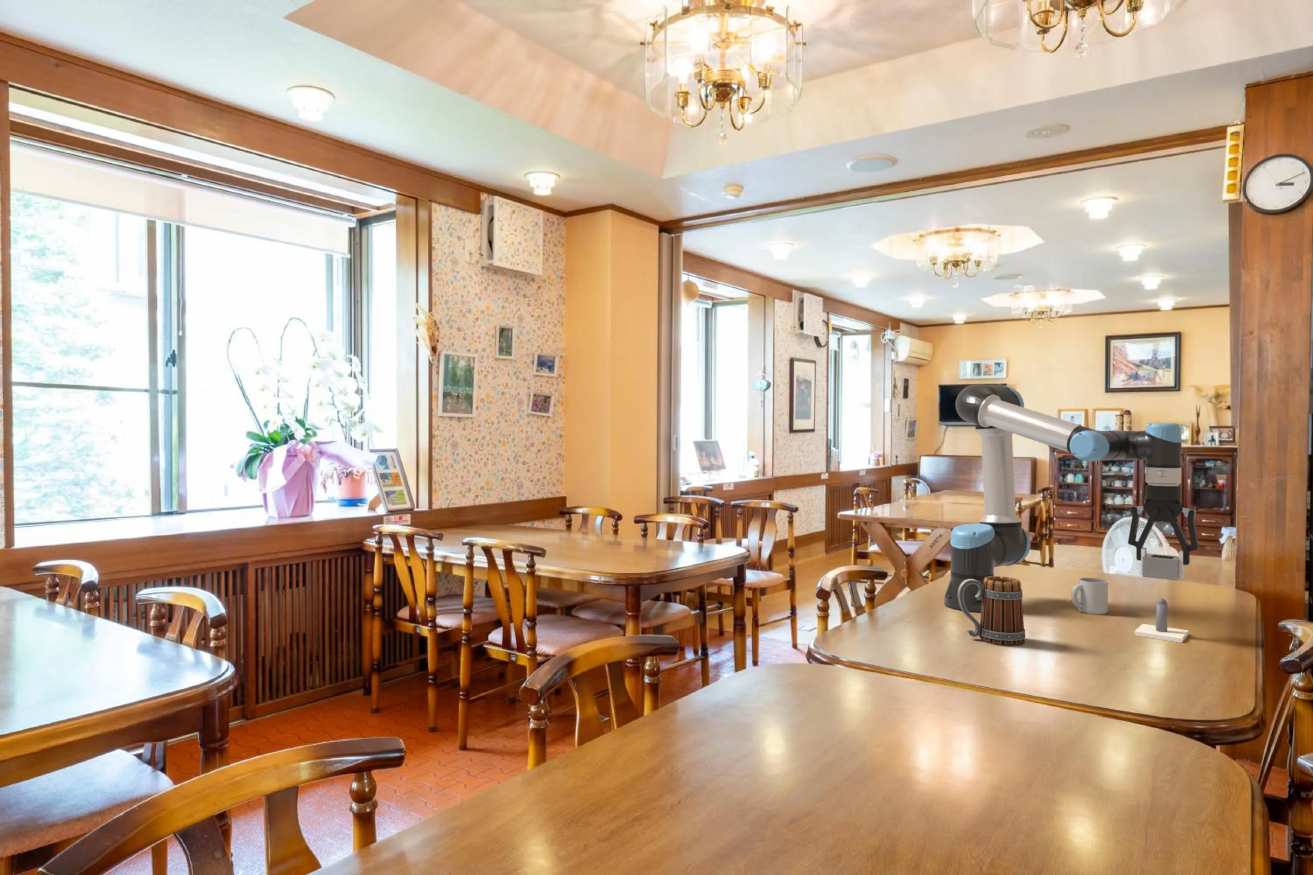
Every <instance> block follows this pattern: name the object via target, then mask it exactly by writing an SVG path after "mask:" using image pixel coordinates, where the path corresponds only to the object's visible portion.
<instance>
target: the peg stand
mask: <svg viewBox="0 0 1313 875" xmlns="http://www.w3.org/2000/svg"><path fill="white" fill-rule="evenodd" d="M1155 603H1156V604H1155V625H1153V624H1146V623H1142V624H1141V625H1140V626H1138V628H1137V629H1135V630H1134V636H1136V637H1143V638H1151V639H1154V640H1155V639H1157V640H1162V641H1169V642H1174V643H1184V641H1185V639H1186V638H1188V636H1189V631H1190V630H1187V629H1180V628H1173V627H1168V606H1169V603H1167V600H1166V599H1165V598H1163V597H1161V598H1158V599H1157V601H1156V602H1155Z"/></svg>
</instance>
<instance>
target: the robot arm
mask: <svg viewBox="0 0 1313 875" xmlns="http://www.w3.org/2000/svg"><path fill="white" fill-rule="evenodd" d="M955 409H956V413H957V414H958V416H959V417H960V419H962V420H963V421H965V422H967V423H969V424H974V428H975V431H976V433H977V434H979V435H980V438H981V439H980V440H981V444H980V445H981V460H982V461H981V462H982V483H983V486H982V487H983V489H982V490H983V504H984V505H983V506H984V507H983V508H984V515H983V516H982V517H981V518H980V520H979V523H966V524H965V523H964V524H961V525H958V526H955V527H953V529H952V530H951V532H950V534H951V535H950V542H949V543H950V580H949V582H948V584H947V585H948V586H947V588H946V591H945V594H944V598H943V604H944V605H945V607H948V608H950V609H954V610H959V611H962V609H961V608H960V605H959V601H958V589H959V586H960V584H961V583H962V582H963V581H965V580H967V579H975V580H977V581H979V582H980V583H981V584H982V585H983V584H984V579H985V577H989V576H993V578H994V576H995V568H998V567H1004V566H1005V567H1006V566H1007V567H1008V566H1009V567H1010V566H1014V565H1016V564H1019V563H1021V562H1022V561H1024V560H1025V559H1026V558H1027V556H1028V555H1029V552H1030V550H1031V538H1030V535H1029V534H1028V533H1027V532H1026V530H1025V529H1024V527H1023V522H1022V519H1020V517H1019V516H1017V514H1016V496H1015V495H1016V492H1015V470H1014V449H1013V448H1014V447H1013V434H1014V435H1017V436H1021V437H1022V438H1025V439H1029V440H1033V441H1034V442H1038V443H1040V444H1043V445H1046V446H1050V447H1052V448H1055V449H1058V450H1061V451H1064V452H1066V453H1070V454H1072V455H1073V456H1074V457H1075V458H1076V459H1078V460H1080V461H1086V462H1097V461H1099V462H1100V461H1101V462H1102V461H1120V460H1122V461H1127V460H1129V461H1138V460H1139V461H1145V483H1147V484H1146V485H1145V492H1144V493H1145V495H1144V496H1145V501H1144V503H1143V505H1134V506H1132V507H1131V508H1130V510H1131V515H1132V518H1131V523H1130V528H1129V534H1128V539H1127V540H1128V541H1127V543H1128V545H1129V546H1133V547H1135V549H1136V552H1135V555H1136V557H1135V558H1136V561H1140V575H1142V571H1143V557H1144V556H1145V555H1147V554H1148V548H1147V547H1144V545H1145V543H1146V541H1147V538H1148V537H1149V535H1150V532H1151V531H1152V530H1153V529H1152V528H1153V526H1154V525H1155V523H1156V522H1165V523H1169V524H1170V526H1171V528H1172V529H1173V531H1174V534H1175V536H1176V538H1177V541H1178V543H1179V545H1180V548H1181V550H1179V552H1178V556H1179V578H1180V579H1179V580H1182V579H1184V578H1185V566H1189V564H1190V561H1191V560H1190V559H1191V557H1190V556H1191V552H1193V551H1197V550H1198V549H1199V547H1200V545H1199V539H1198V533H1197V527H1196V521H1195V517H1196V514H1197V510H1196V509H1194V508H1193V509H1192V508H1191V509H1190V508H1187V507H1186V508H1185V507H1184V506H1183V504H1182V487H1181V486H1180V484H1182V444H1183V440H1182V427H1181V426H1180V424H1179V423H1176V422H1169V423H1168V422H1157V423H1156V422H1155V423H1154V422H1153V423H1152V422H1150V423H1147V424H1146V426H1145V430H1115V429H1113V430H1111V429H1110V430H1097V429H1094V428H1090V427H1087V426H1083V425H1080V424H1077V423H1074V422H1071V421H1068V420H1064V419H1061V418H1058V417H1054V416H1052V415H1049V414H1046V413H1042V412H1040V411H1039V412H1038V411H1036V410H1032V409H1029V408H1026V407H1025V403H1024V399H1023V397H1022V395H1021V394H1020V392H1019V391H1017V390H1016V389H1015V388H1014V387H1011V386H1008V385H1004V384H980V383H977V384H970V385H967V386H966V387H964V388H963V389H962V390H960V392H959V393H958V394H957V397H956V399H955ZM1143 511H1144V512H1145V513H1146V514H1147V515H1148V516H1149V517H1148V519H1147V521H1146V524H1145V526H1144V528H1143V530H1142V532H1141V535H1140V536H1139V539H1138V540H1137V536H1138V535H1137V534H1138V529H1139V522H1140V516H1141V514H1142V513H1143ZM1181 513H1183V515H1184V517H1185V518H1186V520H1187V521H1186V522H1187V528H1188V534H1189V540H1190V542H1189V543H1190V545H1189V543H1188V541H1187V539H1186V536H1185V534H1184V532H1183V530H1182V527H1181V525H1180V522H1179V520H1178V517H1179V516H1180V515H1181ZM977 594H978V586H977V585H976V584H970V585H968V586H967V587H966V588H965V590H964V594H963V597H964V603H965V606H966V609H967V610H968V612H975V613H976V612H980V613H981V607H982V599H981V600H978V599H977V598H976V597H975V596H976V595H977Z"/></svg>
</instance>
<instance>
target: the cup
mask: <svg viewBox="0 0 1313 875" xmlns="http://www.w3.org/2000/svg"><path fill="white" fill-rule="evenodd" d="M1108 598H1109V581H1108V580H1106V579H1102V578H1096V577H1095V578H1094V577H1081V578H1078V583H1077V584H1076V585H1074V586H1073V587H1072V589H1071V594H1070V599H1071V601H1072V605H1073V606H1075V607H1076V608H1078V610H1079V612H1081V613H1084V614H1087V615H1088V614H1089V615H1097V616H1098V615H1100V616H1101V615H1107V613H1108V609H1109V599H1108Z"/></svg>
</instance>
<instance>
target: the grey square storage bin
mask: <svg viewBox="0 0 1313 875" xmlns="http://www.w3.org/2000/svg"><path fill="white" fill-rule="evenodd" d="M1141 575H1142V578H1150V579H1158V580H1165V581H1166V580H1167V581H1176V582H1178V581H1179V580H1181V579H1180V578H1179V555H1169V554H1168V555H1167V554H1157V553H1147V555H1145V556H1144V557H1143V571H1142V574H1141Z"/></svg>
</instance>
